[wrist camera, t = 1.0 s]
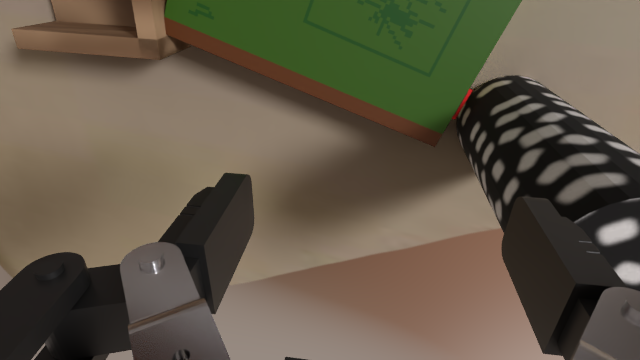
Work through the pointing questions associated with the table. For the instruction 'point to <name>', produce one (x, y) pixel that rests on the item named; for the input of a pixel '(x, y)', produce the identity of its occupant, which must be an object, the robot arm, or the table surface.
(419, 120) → the hardcover book
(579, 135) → the white-spotted black cylinder
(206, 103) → the table surface
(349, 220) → the table surface
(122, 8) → the open-sided wooden box
